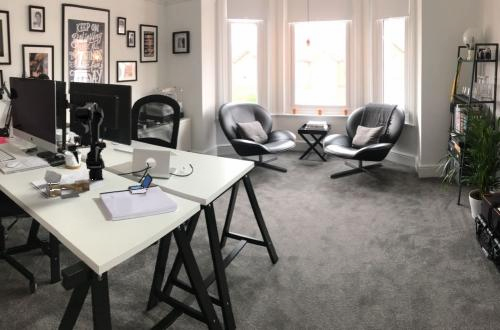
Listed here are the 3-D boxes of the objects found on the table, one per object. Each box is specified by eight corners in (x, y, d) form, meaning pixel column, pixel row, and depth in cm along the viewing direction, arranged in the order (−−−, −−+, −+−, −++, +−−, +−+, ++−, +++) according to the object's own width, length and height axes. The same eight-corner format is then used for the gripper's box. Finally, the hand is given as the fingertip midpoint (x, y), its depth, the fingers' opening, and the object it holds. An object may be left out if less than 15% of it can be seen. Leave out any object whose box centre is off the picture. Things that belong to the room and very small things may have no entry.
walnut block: (87, 187, 225) (87, 179, 224) (89, 190, 220) (89, 182, 219) (75, 189, 222) (74, 180, 221) (77, 192, 217) (76, 183, 216)
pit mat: (77, 193, 215) (77, 192, 215) (79, 196, 210) (79, 195, 210) (60, 195, 211) (60, 194, 211) (61, 198, 206) (61, 198, 206)
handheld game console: (127, 188, 225) (127, 174, 223) (148, 186, 229) (148, 172, 227) (131, 195, 214) (131, 180, 212) (153, 192, 218) (153, 178, 216)
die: (61, 182, 236) (49, 168, 234) (68, 177, 231) (55, 163, 229) (50, 190, 230) (37, 177, 228) (56, 185, 225) (43, 171, 223)
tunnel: (78, 187, 225) (78, 181, 224) (82, 192, 216) (81, 186, 215) (46, 191, 218) (45, 185, 217) (47, 196, 208) (47, 190, 208)
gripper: (99, 129, 230) (101, 157, 233) (62, 131, 220) (64, 161, 223) (105, 131, 221) (107, 161, 224) (67, 135, 211) (69, 166, 214)
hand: (87, 162), depth 222 cm, fingers open, 9 cm apart
